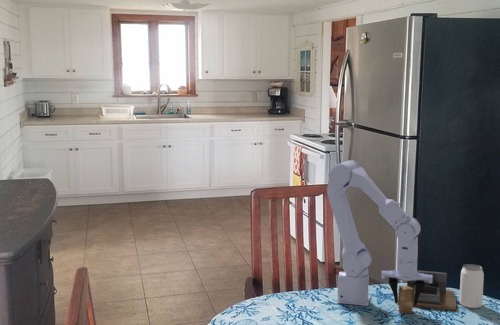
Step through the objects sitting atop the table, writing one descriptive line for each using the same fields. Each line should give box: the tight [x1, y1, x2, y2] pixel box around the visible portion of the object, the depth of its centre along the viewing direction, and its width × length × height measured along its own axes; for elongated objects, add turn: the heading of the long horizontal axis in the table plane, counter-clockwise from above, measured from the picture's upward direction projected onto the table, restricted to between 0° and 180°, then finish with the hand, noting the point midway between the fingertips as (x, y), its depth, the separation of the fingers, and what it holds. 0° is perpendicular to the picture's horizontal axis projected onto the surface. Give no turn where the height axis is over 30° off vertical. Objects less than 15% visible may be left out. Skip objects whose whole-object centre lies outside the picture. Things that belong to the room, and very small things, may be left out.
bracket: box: [397, 269, 457, 311], centre depth 174 cm, size 17×13×7 cm
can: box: [459, 263, 485, 309], centre depth 169 cm, size 6×6×12 cm
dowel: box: [398, 285, 414, 315], centre depth 165 cm, size 4×4×7 cm
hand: (405, 303), depth 166 cm, fingers open, 5 cm apart
